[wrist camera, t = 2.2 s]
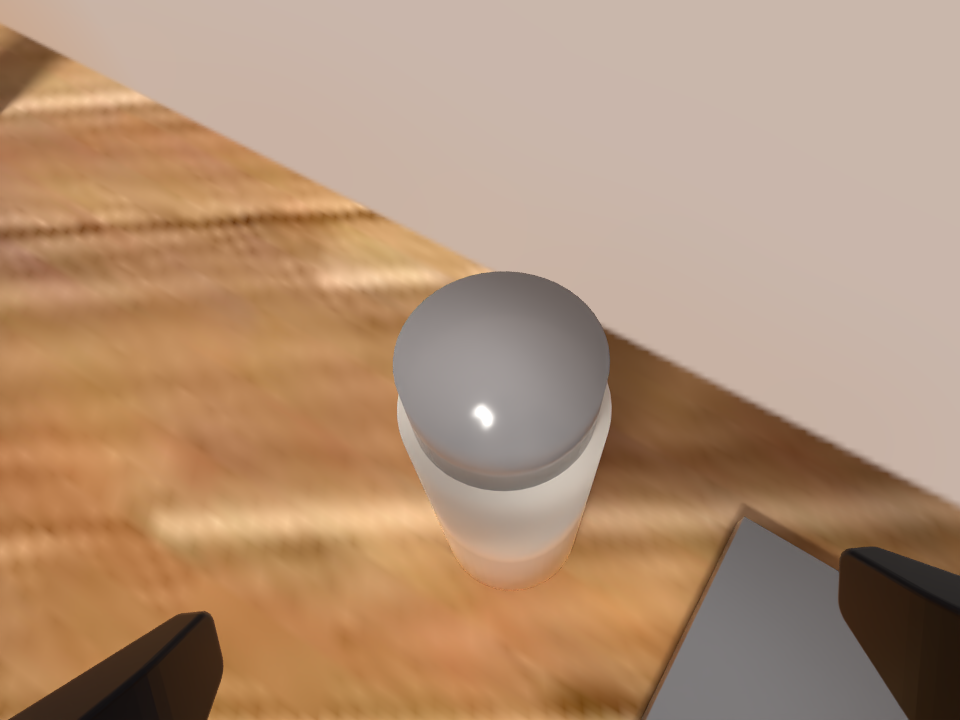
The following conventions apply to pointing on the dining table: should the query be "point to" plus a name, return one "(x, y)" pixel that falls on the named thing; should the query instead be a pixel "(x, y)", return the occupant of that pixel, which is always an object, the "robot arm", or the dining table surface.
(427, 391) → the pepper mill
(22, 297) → the dining table surface
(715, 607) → the slate board
